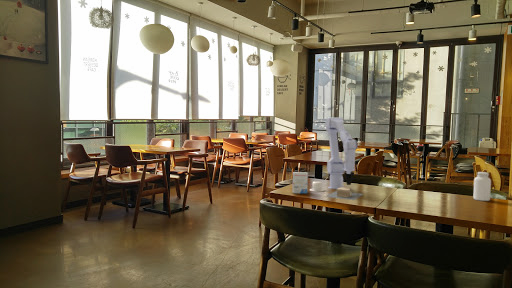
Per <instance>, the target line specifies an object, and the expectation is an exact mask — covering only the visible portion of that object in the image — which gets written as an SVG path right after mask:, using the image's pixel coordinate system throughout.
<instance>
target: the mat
mask: <svg viewBox="0 0 512 288" xmlns="http://www.w3.org/2000/svg"><path fill="white" fill-rule="evenodd" d="M363 195H364V193H359V192H351V196H349V197H340V196H337V190H336V191H333V192H331V193H329V194H328V195H326V196H324V197H325V198H333V199H340V200H341V199H342V200H350V201H355V200H357V199H358V198H360V197H362V196H363Z"/></svg>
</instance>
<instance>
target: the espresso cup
mask: <svg viewBox="0 0 512 288" xmlns="http://www.w3.org/2000/svg"><path fill="white" fill-rule="evenodd" d="M312 191H313V192H323V191H325V189H324V188H323V182H322V181H312V188H310V189H309V192H312Z"/></svg>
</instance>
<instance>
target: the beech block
mask: <svg viewBox="0 0 512 288" xmlns="http://www.w3.org/2000/svg"><path fill="white" fill-rule="evenodd" d="M336 191H337V196H340V197H349V196H351V193H352V187H345V186H343V187H340V188H338V189H336Z"/></svg>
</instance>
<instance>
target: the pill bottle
mask: <svg viewBox="0 0 512 288" xmlns="http://www.w3.org/2000/svg"><path fill="white" fill-rule="evenodd" d="M489 175H490V174H489V172H485V171H478V172H477V175H476V177H474V179H473V195H472V196H473V199H474V200H476V201H481V202H489V201H490V200H491V191H492V190H491V188H492V187H491V186H492V179H491V178H490V177H489Z"/></svg>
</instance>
